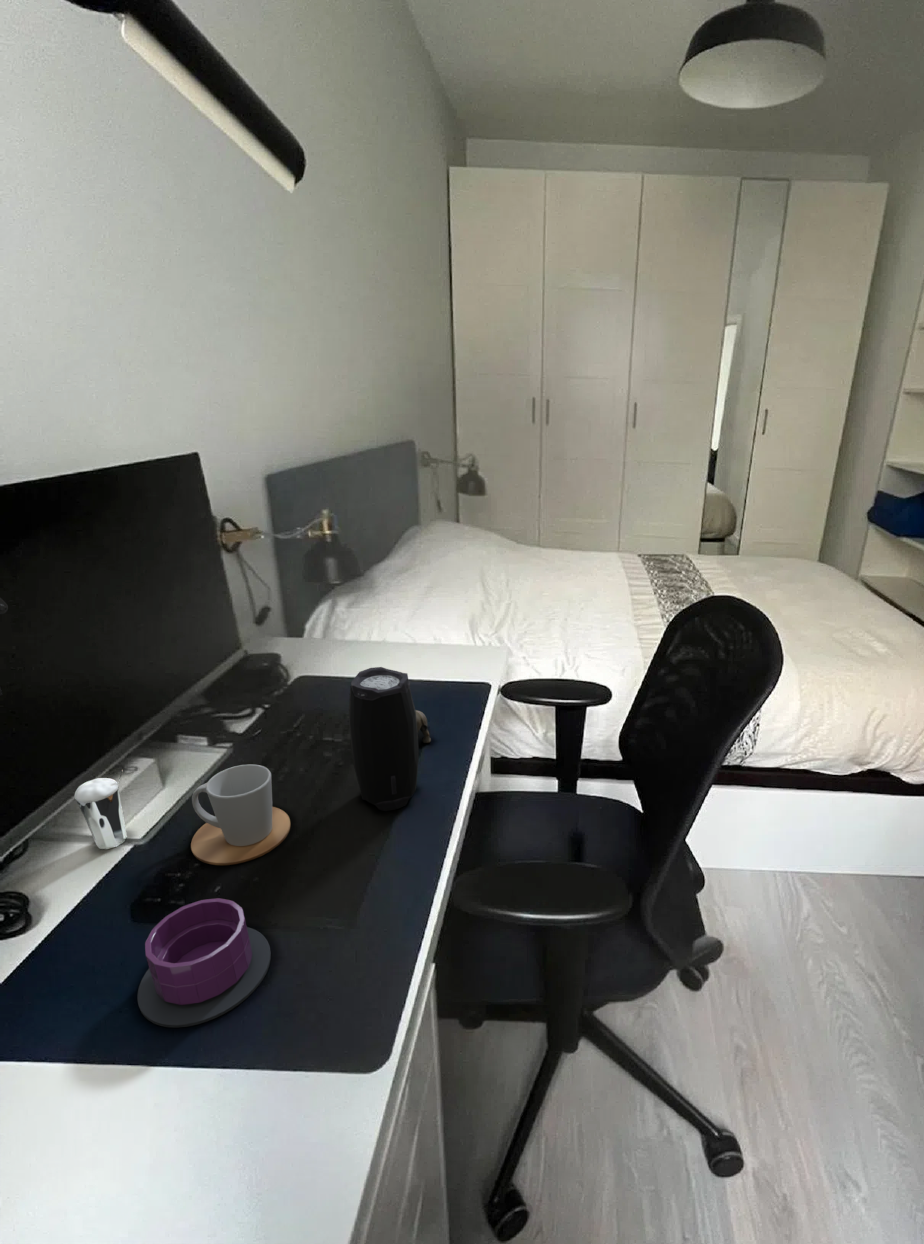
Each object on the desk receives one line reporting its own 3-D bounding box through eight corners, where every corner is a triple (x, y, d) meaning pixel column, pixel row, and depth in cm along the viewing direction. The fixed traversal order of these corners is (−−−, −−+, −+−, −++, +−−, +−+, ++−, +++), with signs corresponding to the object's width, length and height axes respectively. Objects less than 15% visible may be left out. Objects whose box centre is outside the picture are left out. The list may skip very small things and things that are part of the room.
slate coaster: (107, 1013, 60) (106, 1010, 60) (198, 919, 71) (198, 916, 71) (217, 1040, 58) (216, 1037, 58) (294, 939, 69) (293, 936, 69)
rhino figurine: (375, 719, 115) (373, 690, 113) (435, 739, 110) (433, 709, 107) (359, 729, 112) (356, 699, 110) (419, 750, 106) (417, 719, 104)
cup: (268, 851, 81) (258, 796, 78) (187, 853, 81) (174, 798, 77) (287, 815, 88) (279, 763, 85) (213, 816, 88) (202, 764, 84)
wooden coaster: (169, 856, 80) (168, 854, 80) (233, 802, 91) (233, 799, 91) (252, 872, 78) (252, 870, 78) (308, 814, 89) (307, 812, 89)
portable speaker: (364, 780, 98) (352, 664, 90) (425, 779, 99) (418, 665, 91) (350, 813, 90) (336, 690, 82) (416, 813, 91) (409, 691, 83)
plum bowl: (135, 998, 62) (122, 957, 59) (200, 930, 69) (190, 892, 67) (213, 1016, 60) (202, 975, 58) (270, 945, 68) (262, 906, 66)
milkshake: (140, 843, 83) (122, 778, 79) (90, 857, 80) (69, 791, 76) (139, 824, 86) (122, 761, 82) (91, 837, 83) (71, 773, 79)
